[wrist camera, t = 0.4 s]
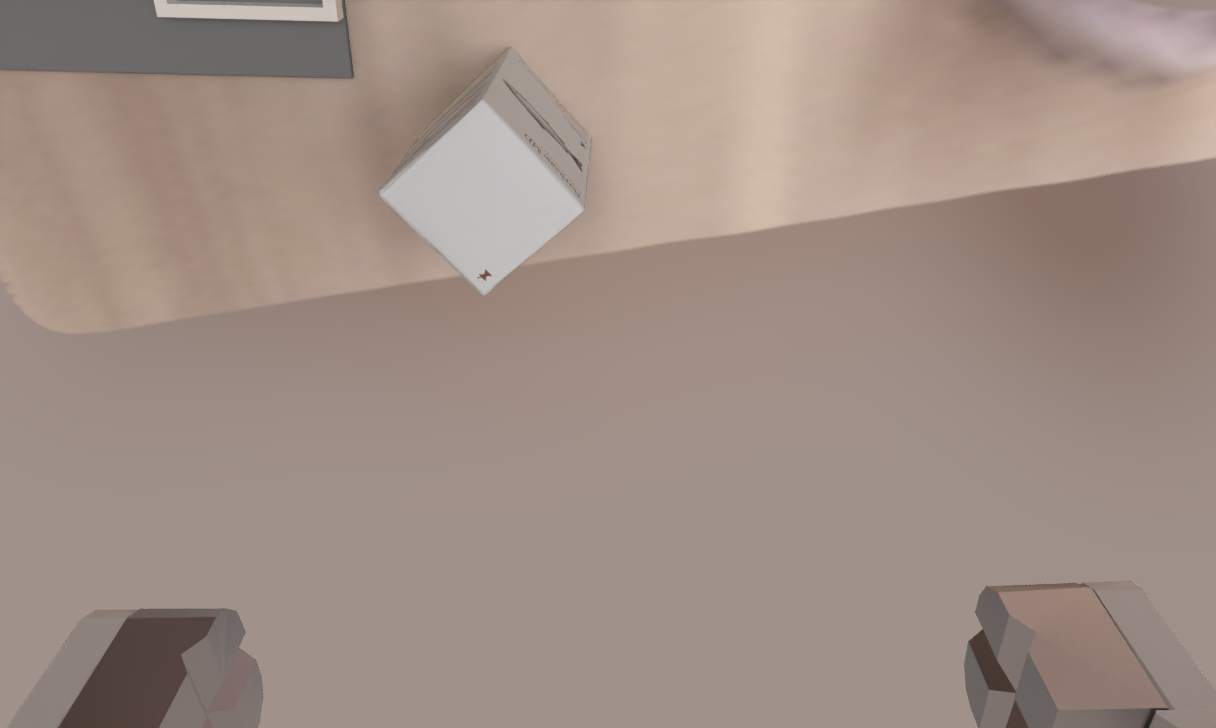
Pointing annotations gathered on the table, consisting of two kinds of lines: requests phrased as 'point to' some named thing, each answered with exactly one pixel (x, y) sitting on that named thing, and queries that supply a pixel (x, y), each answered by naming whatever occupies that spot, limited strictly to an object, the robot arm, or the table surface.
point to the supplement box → (493, 174)
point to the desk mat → (167, 40)
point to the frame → (250, 10)
